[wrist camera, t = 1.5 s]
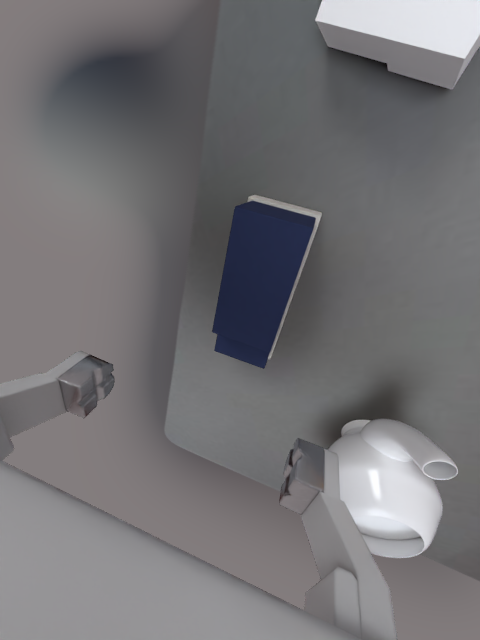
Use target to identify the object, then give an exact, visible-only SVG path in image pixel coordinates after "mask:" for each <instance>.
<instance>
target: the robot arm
mask: <svg viewBox="0 0 480 640" xmlns="http://www.w3.org/2000/svg"><path fill="white" fill-rule="evenodd" d="M113 370H114V369H113V364H110V363H108V362H106V361H104V360H101V359H99V358H97V357H94V356H92V355H90V354H87V353H84V352H82V351H79V352H76V353H74V354H73V355H72V356H70V357H69V358H67V359H66V360H64V361H63V362H61V363H60V364H59V365H57V366H56V367H54V368H53V369H51V370H50V371H48V372H47V373H46V374H43V373H39V374H36V375H32V376H28V377H24V378H20V379H16V380H13V381H9V382H5V383H1V384H0V640H397V633H396V627H395V619H394V613H393V607H392V599H391V592H390V588H389V586H388V584H387V583H386V581H385V579H384V577H383V575H382V573H381V571H380V569H379V567H378V565H377V564H376V561H375V559H374V558H373V556H372V554H371V552H370V550H369V548H368V546H367V544H366V542H365V540H364V538H363V537H362V535H361V533H360V531H359V529H358V527H357V525H356V523H355V521H354V519H353V517H352V515H351V514H350V512H349V510H348V508H347V506H346V504H345V502H344V501H342V500H340V484H339V459H338V455H337V453H334V452H332V451H329V450H327V449H324V448H323V447H320V446H317V445H315V444H312V443H310V442H307V441H304V440H302V439H299V438H298V439H296V441H295V443H294V449H292V450H290V452H289V454H288V457H287V460H286V463H285V467H284V477H285V481H284V483H283V484H282V487H281V493H280V500H279V505H281V506H283V507H285V508H287V509H290V510H291V511H294V512H296V513H298V514H300V515H301V518H302V522H303V525H304V528H305V531H306V534H307V538H308V541H309V544H310V547H311V550H312V553H313V556H314V560H315V563H316V566H317V569H318V572H319V575H320V579H321V581H319V582H318V583H317V584H316V585H315V586H313V587H312V588H311V589H309V590H308V591H307V592H306V593H305V607H304V610H302V609H300V608H298V607H296V606H294V605H292V604H290V603H288V602H286V601H284V600H282V599H280V598H278V597H276V596H274V595H272V594H270V593H268V592H266V591H263V590H262V589H260V588H258V587H256V586H254V585H252V584H250V583H247V582H246V581H244V580H242V579H240V578H237V577H235V576H233V575H231V574H229V573H227V572H225V571H224V570H221V569H219V568H217V567H215V566H213V565H211V564H209V563H207V562H205V561H203V560H201V559H199V558H197V557H195V556H193V555H191V554H189V553H187V552H185V551H183V550H181V549H179V548H177V547H175V546H173V545H171V544H169V543H167V542H165V541H163V540H161V539H159V538H157V537H154V536H153V535H151V534H149V533H147V532H145V531H143V530H141V529H139V528H137V527H135V526H133V525H131V524H128V523H127V522H125V521H122V520H121V519H118V518H117V517H115V516H113V515H111V514H109V513H107V512H105V511H103V510H101V509H99V508H97V507H95V506H92V505H91V504H89V503H87V502H84V501H82V500H80V499H78V498H76V497H74V496H72V495H70V494H68V493H66V492H64V491H62V490H60V489H58V488H56V487H54V486H52V485H50V484H48V483H46V482H44V481H42V480H40V479H38V478H36V477H34V476H32V475H30V474H28V473H26V472H24V471H22V470H20V469H18V468H16V467H14V466H12V465H10V464H8V463H6V462H4V461H3V459H5V458H6V457H7V456H8V455H9V454H10V453H11V452H12V451H13V450H14V446H13V444H12V441H11V439H10V437H12V436H14V435H17V434H19V433H21V432H23V431H25V430H28V429H30V428H32V427H35V426H37V425H39V424H41V423H43V422H46V421H48V420H50V419H52V418H54V417H57V416H59V415H61V414H63V413H65V412H66V411H68V412H70V413H72V414H75V415H77V416H80V417H82V418H85V417H86V416H87V415H88V414H89V413H90V412H91V411H92V410H93V409H94V408H95V407H96V406H97V401H98V400H101V399H104V398H105V397H106V396H107V395H108V394H109V393H110V392H111V390H112V388H113V386H114V377H113V375H112V374H111V372H112V371H113Z"/></svg>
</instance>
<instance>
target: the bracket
mask: <svg viewBox="0 0 480 640" xmlns="http://www.w3.org/2000/svg"><path fill="white" fill-rule="evenodd" d="M315 21H316V23H317V25H318V27H319V29H320V31H321V33H322V36H323V38H324V40H325V42H326V44H327V46H328V47H331V48H335V49H338V50H342V51H345V52H349V53H352V54H356V55H359V56H363V57H366V58H370V59H373V60H377V61H380V62H384V63H387V68H388V71H390V72H394V73H397V74H400V75H404V76H407V77H411V78H414V79H417V80H421V81H424V82H428V83H431V84H435V85H438V86H441V87H445V88H448V89H453V88H454V86H455V85H456V83H457V81H458V80H459V78H460V77H461V75H462V73H463V72H464V70H465V69H466V67H467V65H468V64H469V62H470V61H471V59H472V57H473V56H474V54H475V53H476V51H477V49H478V48H479V46H480V0H322V2H321V5H320V8H319V11H318V14H317V17H316V20H315Z"/></svg>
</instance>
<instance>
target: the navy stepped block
mask: <svg viewBox="0 0 480 640" xmlns="http://www.w3.org/2000/svg"><path fill="white" fill-rule="evenodd" d="M321 216H322V213H321V212H318V211H314V210H310V209H307V208H303V207H299V206H296V205H292V204H288V203H284V202H281V201H277V200H273V199H269V198H266V197H262V196H258V195H252V196H249V197H248V202H247V203H244V204H241V205H238V206H235V209H234V215H233V220H232V226H231V231H230V237H229V242H228V248H227V253H226V259H225V264H224V270H223V275H222V281H221V286H220V292H219V297H218V303H217V308H216V314H215V319H214V325H213V330H212V332H213V333H216V334H218V335H217V340H216V345H215V351H216V352H219V353H222V354H225V355H227V356H230V357H233V358H236V359H239V360H241V361H244V362H247V363H250V364H252V365H255V366H258V367H261V368H263V369H264V368H265V365H266V362H267V359H271V357H272V354H273V351H274V348H275V345H276V343H277V340H278V337H279V334H280V331H281V329H282V326H283V323H284V320H285V317H286V315H287V312H288V309H289V306H290V303H291V301H292V298H293V295H294V292H295V289H296V287H297V284H298V281H299V278H300V275H301V273H302V270H303V267H304V264H305V261H306V259H307V256H308V253H309V250H310V247H311V245H312V242H313V239H314V236H315V233H316V231H317V228H318V225H319V222H320V219H321Z"/></svg>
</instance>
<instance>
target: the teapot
mask: <svg viewBox="0 0 480 640" xmlns="http://www.w3.org/2000/svg"><path fill="white" fill-rule="evenodd" d="M328 450H329V451H332V452H334V453H337V455H338V459H339V484H340V500H342V501H344V502H345V504H346V506H347V508H348V510H349V512H350V514H351V515H352V517H353V519H354V521H355V523H356V525H357V527H358V529H359V531H360V533H361V535H362V537H363V538H364V540H365V542H366V544H367V546H368V548H369V550H370V552H371V553H373V554H376V555H379V556H384V557H391V558H408V557H413V556H416V555H418V554H421V553H422V552H424V551H425V550H426V549H427V548H428V547H429V546H430V544H431V543H432V541H433V539H434V537H435V534H436V532H437V529H438V526H439V523H440V520H441V517H442V513H443V505H442V499H441V496H440V493H439V490H438V488H437V485H436V483H435V481H434V479H436V480H447V479H451V478H453V477H455V476H456V475H457V473H458V469H457V466H456V465H455V463H454V462H453V460H452V459H451V458H450V457H449V456H448V455H447V454H446V453H445V452H444V451H443V450H442V449H441V448H439V447H438V446H437V445H436V444H435V443H434V442H433V441H432V440H430V439H429V438H428V437H427V436H426V435H424V434H423V433H421V432H420V431H419V430H417V429H415V428H414V427H412V426H410V425H408V424H405V423H403V422H400V421H397V420H393V419H375V420H372V421H370V420H354V421H351V422H349V423H347V424H345V425H344V426H343V428H342V430H341V438H339V439H338V440H336V441H335V442H334V443H333V444H332V445H331V446H330V447H329V448H328Z"/></svg>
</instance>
